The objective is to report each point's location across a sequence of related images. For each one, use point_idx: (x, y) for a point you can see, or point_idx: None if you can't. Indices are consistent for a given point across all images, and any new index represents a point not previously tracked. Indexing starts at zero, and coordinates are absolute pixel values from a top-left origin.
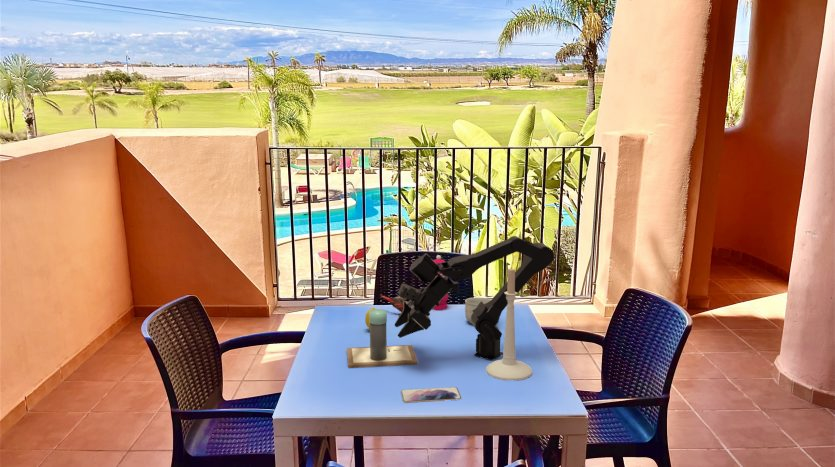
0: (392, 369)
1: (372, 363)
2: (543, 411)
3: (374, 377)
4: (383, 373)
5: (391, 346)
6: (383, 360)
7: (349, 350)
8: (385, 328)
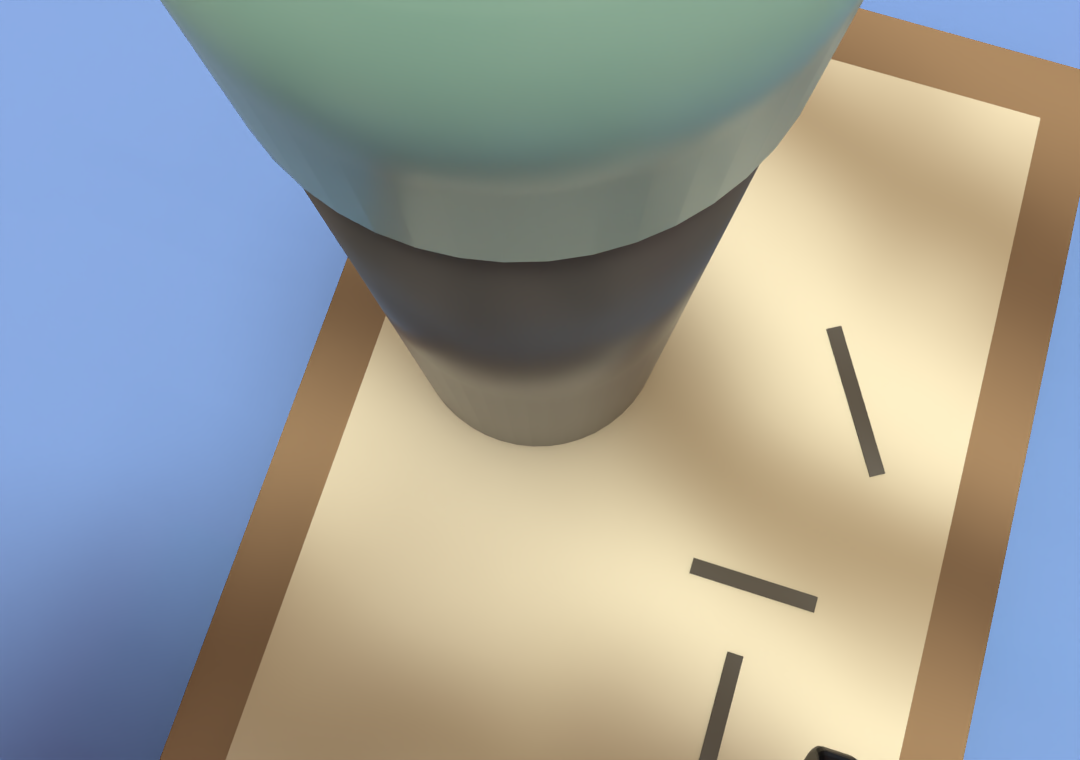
0: (172, 398)
1: None
2: None
3: (55, 101)
4: (111, 242)
5: (943, 709)
6: (406, 352)
7: (994, 77)
8: (335, 229)
